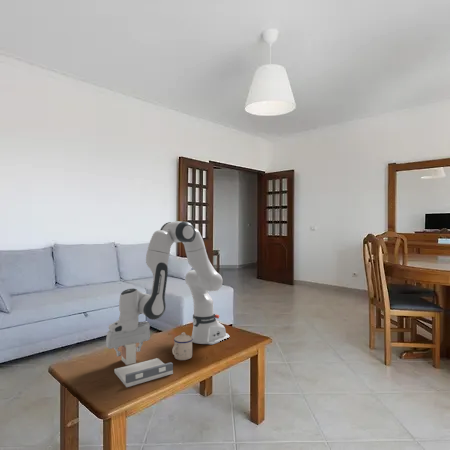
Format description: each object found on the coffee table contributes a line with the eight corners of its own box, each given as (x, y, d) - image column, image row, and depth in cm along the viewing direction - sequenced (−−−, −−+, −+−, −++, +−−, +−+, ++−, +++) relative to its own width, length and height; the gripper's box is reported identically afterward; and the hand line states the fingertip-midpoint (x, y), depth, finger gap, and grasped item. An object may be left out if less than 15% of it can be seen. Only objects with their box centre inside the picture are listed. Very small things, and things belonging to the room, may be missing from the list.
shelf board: (157, 361, 149) (157, 351, 149) (173, 374, 135) (173, 363, 135) (114, 372, 137) (114, 362, 137) (126, 387, 124) (127, 376, 124)
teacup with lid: (182, 351, 160) (182, 328, 160) (196, 355, 155) (196, 331, 155) (165, 359, 150) (165, 335, 150) (180, 364, 145) (180, 339, 145)
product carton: (135, 362, 147) (136, 343, 147) (125, 365, 144) (125, 345, 144) (130, 357, 153) (130, 339, 153) (120, 360, 150) (120, 341, 150)
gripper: (147, 318, 158) (147, 346, 157) (104, 326, 146) (104, 356, 145) (152, 321, 152) (152, 350, 152) (108, 329, 140) (108, 360, 140)
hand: (128, 353), depth 149 cm, fingers open, 8 cm apart
